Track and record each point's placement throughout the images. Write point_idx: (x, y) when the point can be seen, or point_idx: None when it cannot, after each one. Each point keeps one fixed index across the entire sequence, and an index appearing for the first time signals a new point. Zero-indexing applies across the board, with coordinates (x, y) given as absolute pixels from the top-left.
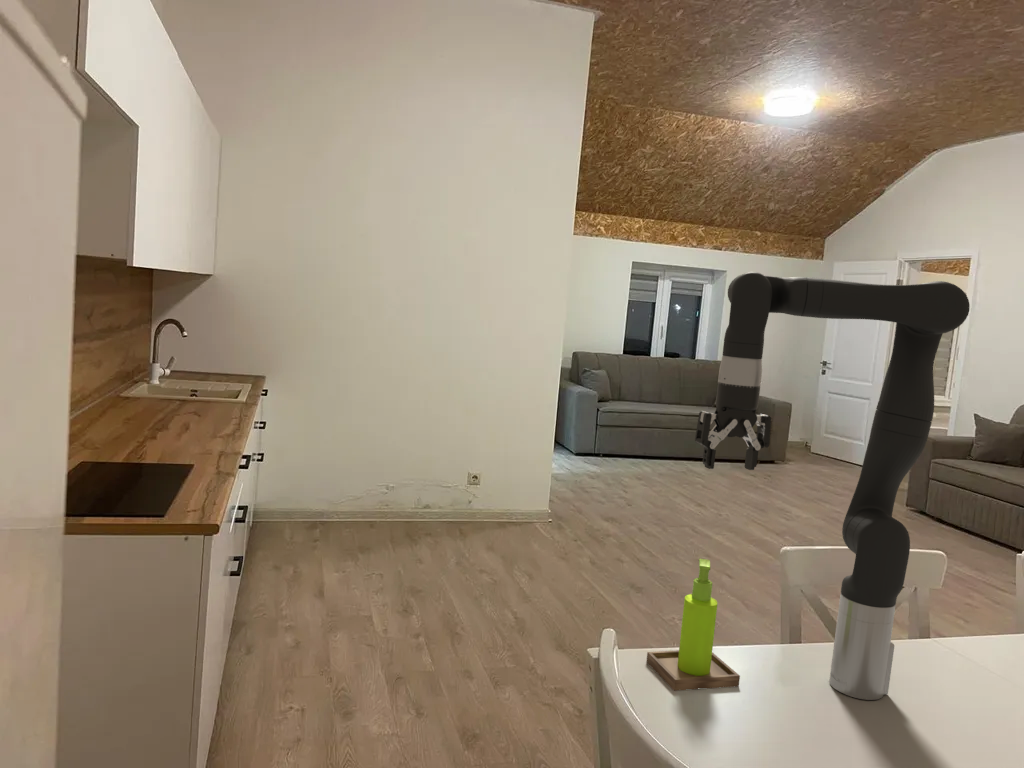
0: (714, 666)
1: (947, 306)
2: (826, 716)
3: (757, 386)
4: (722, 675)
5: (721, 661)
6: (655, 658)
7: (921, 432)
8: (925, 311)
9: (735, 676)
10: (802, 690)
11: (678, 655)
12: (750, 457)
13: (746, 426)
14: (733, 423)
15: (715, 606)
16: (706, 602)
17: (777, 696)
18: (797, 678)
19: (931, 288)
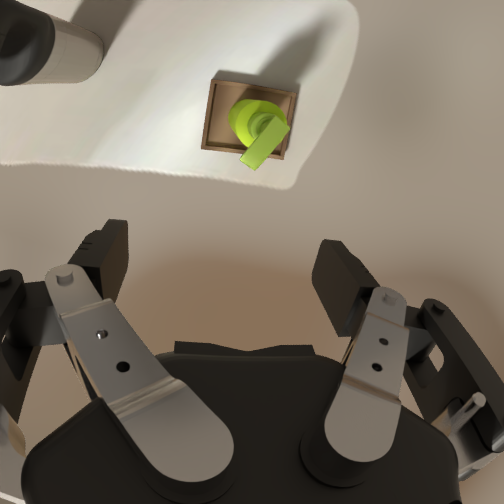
0: (217, 115)
1: None
2: (161, 9)
3: None
4: (232, 85)
5: (208, 115)
6: (285, 142)
7: None
8: None
9: (217, 80)
10: (141, 58)
11: (244, 149)
12: (112, 262)
13: (185, 404)
14: (369, 416)
15: (251, 102)
16: (265, 109)
17: (182, 51)
18: (124, 84)
19: None
